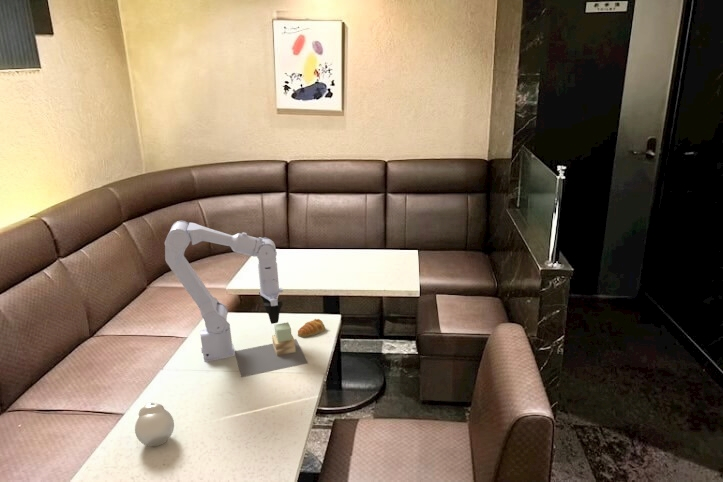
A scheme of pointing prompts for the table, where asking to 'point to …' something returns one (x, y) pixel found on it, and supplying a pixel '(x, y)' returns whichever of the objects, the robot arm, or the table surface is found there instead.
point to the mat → (267, 359)
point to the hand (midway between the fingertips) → (272, 317)
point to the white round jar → (154, 425)
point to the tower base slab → (284, 350)
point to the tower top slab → (283, 343)
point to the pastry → (311, 328)
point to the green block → (283, 332)
